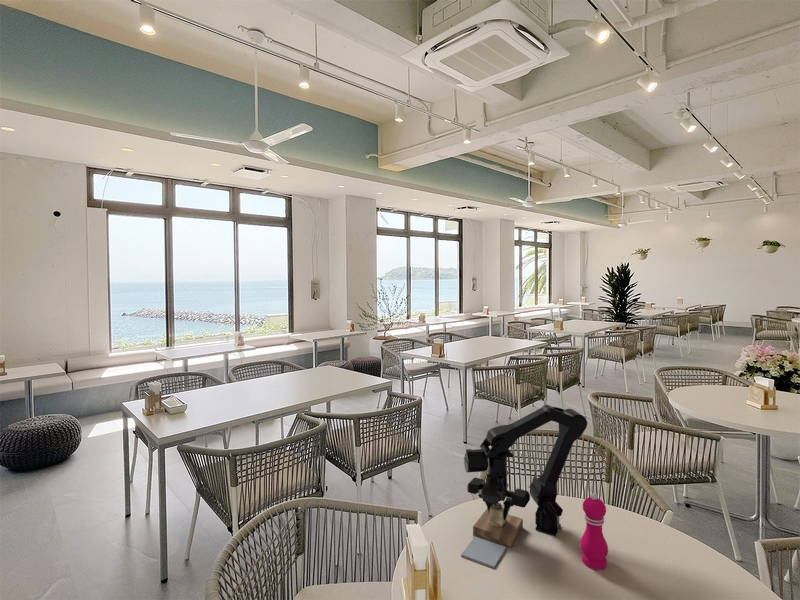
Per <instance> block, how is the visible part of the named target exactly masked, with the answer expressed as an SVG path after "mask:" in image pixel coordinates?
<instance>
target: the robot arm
mask: <svg viewBox="0 0 800 600" xmlns="http://www.w3.org/2000/svg"><path fill="white" fill-rule="evenodd" d="M550 422H555V423H557V424H558V435H557V437H556V440H555V443H554V445H553V447H552V449H551V452H550V454H549V457H548V460H547V462H546V465H545V467H544V469H543V472H542V474H541V475H540V476H538V477H536V476H533V478H532V481H531V483H530V485H529V486H528V488H529V491H528V490H525V489H521V488H517V487H516V489H515V490H511V489H510V490H508V488H509V483H508V475H509V471H508V458H514V456H515V454H514V453H513V452H512V451H511V450H510V448H512V446H514V444H515V443H516V441H517V440H519V438H521V437H523V436H525V435H527V434H528V433H530V432H532V431H534V430H536V429H539V428H540V427H542V426H544V425H546V424H548V423H550ZM587 428H588V421H587V418H586V417H585V416H584V415H583V414H581V413H579V412H578V411H576V410H575V409H573V408H565V409H564V408H561V407H558V406H552V405H549V404H544V405H542V406H541V407H540V408H538V409H536V410H535V411H532V412H531V413H529V414H527V415H525V416H523V417H521V418H519V419H517V420H516V421H514V422H511V423H508V424H502V425H498V426H495V427H492V428H490V429H488V430H487V433H486V437H485V438H484V439H483V441H482V442H481V444H480V445H479V447H480V448H479V449H471V448H467V449H465V453H464V457H463V464H464V470H465V472H466V473H479V472H481V473H483V472H484V473H485V472H486V471H488V474H486V480H485V479H482V478H478V477H474V478H472V480H470V481H469V482H468V483H467V486H466V487H467V488H466V489H467V493H469V494H473V495H477V494H478V495H477V496H478V498H480V499H482V501H483V502H484V503H485V506H486V509H487V508H488V511H489V514H490V507H491V506H492V505H493V504H494V505H496V504H498V503H501V502H502V505H504V515H503V517H504V520H506V518H507V515H508V514H509V512H510V509H511V507H514V506H515V507H519V508H522V509H523V508H526V506H527V504H529V502H530V501H531V498H532V500H533V501H534V503H535V504H536V505H537V507H536V508H537V509H536V511H535V513H534V514H535V519H534V520H535V530H536V531H539V532H543V533H546V534H548V535H552V536H558V533H559V531H560V529H561V526H562V524H561V523H560V517H561V516H562V515H563V511H564V509H563V508H562V506H560V504H559V503H558V502H557V496H558V487H557V486H558V481H559V479H560V476H561V474H562V472H563V468H564V467H565V464H566V462H567V460H568V457H569V455H570V453H571V450H572V447H573V445H574V443H575V442H576V441H577V440H578V439H579V438H580V437H582V435H583V434H584V432H585V431H586V429H587ZM490 447H491V448H490Z"/></svg>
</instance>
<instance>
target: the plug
mask: <svg viewBox="0 0 800 600" xmlns="http://www.w3.org/2000/svg"><path fill="white" fill-rule="evenodd" d="M503 515H504V504H502V503H501V502H498V504H496V505H494V504H493V505H492V506H491V507H490V525H493V526H496V527H500V528H504V526H505V525H506V520H504V517H503Z"/></svg>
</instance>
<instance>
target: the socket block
mask: <svg viewBox="0 0 800 600" xmlns="http://www.w3.org/2000/svg"><path fill="white" fill-rule="evenodd" d="M523 523H524V519H523V518H521V517H518V516H515V515H512V514H509V513H508V515H507V518H506V525H505V526H504V528H500V527H496V526H493V525H490V514H489V511H488V508H487V507H486V509H485V510H484V511H483V513H482V514H481V515H480V516H479V518H478V519H477V521H476V522H475V523H474V524H473V526H472V535H473V537H478V538H481V539H484V540H487V541H490V542H493V543H496V544H499V545H502V546H505V547H506V548H510V549H511V548H512V547H513V546H514V545H513V544H514V543H515V541H516V540H517V539H518V536H519V535H520V533H521V532H522V529H523V528H524V524H523ZM520 531H521V532H520Z"/></svg>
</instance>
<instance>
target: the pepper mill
mask: <svg viewBox="0 0 800 600" xmlns="http://www.w3.org/2000/svg"><path fill="white" fill-rule="evenodd" d="M582 510H583V511H584V518H583V519H584V521H585V523H586V526H585V530H584V532H583V534H582V535H581V538H580V541H579V542H580V544H579V547H580V550H581V561H582V563H583V565H585V566H586V567H588V568H589V569H593V570H599V571H600V570H604V569H605V568H606V566H607V556H608V554H609V546H608V543H607V541H606V539H605V537H604V533H603V526H604V524H605V515H606V513H607V507H606V504H605V503H604V501H603V500H602V499H600V498H599V496H598V494H597V493H596V492H594V493H591V494H590V496H589V497H587V498H585V499H584V500H583V502H582Z"/></svg>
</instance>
